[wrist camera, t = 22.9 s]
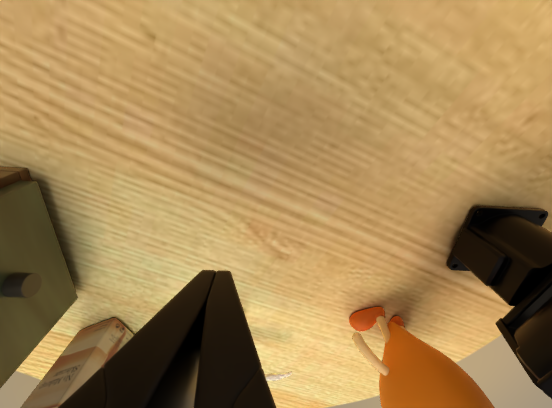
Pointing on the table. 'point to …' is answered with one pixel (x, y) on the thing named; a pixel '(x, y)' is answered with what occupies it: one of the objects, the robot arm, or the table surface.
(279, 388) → the table surface
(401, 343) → the toy figure
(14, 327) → the drawer
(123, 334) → the printed medicine carton
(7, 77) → the table surface
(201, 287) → the robot arm
